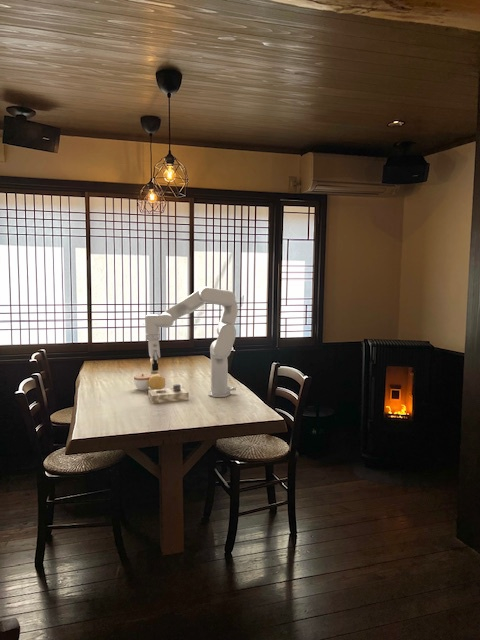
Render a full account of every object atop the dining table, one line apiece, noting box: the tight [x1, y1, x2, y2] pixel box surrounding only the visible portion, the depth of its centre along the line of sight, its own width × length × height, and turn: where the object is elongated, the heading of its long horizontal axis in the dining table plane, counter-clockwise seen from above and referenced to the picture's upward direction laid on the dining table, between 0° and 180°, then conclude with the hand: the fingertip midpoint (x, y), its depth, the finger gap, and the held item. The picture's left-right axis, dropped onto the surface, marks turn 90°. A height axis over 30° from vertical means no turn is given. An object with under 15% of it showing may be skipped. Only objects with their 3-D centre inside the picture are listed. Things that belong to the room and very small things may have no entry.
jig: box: [147, 383, 190, 404], centre depth 262 cm, size 20×13×7 cm, turn 110°
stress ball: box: [148, 373, 166, 390], centre depth 278 cm, size 10×10×10 cm
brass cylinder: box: [150, 358, 159, 375], centre depth 260 cm, size 4×4×8 cm
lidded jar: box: [133, 372, 152, 391], centre depth 283 cm, size 11×11×9 cm
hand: (154, 369), depth 260 cm, fingers closed on brass cylinder, 4 cm apart
